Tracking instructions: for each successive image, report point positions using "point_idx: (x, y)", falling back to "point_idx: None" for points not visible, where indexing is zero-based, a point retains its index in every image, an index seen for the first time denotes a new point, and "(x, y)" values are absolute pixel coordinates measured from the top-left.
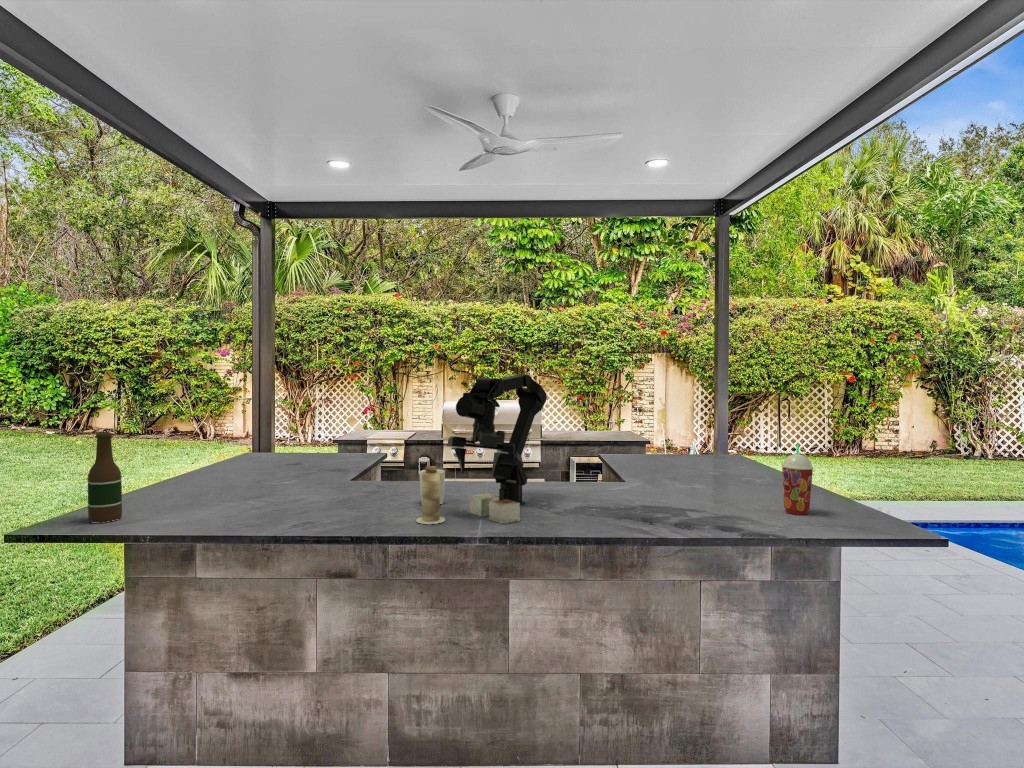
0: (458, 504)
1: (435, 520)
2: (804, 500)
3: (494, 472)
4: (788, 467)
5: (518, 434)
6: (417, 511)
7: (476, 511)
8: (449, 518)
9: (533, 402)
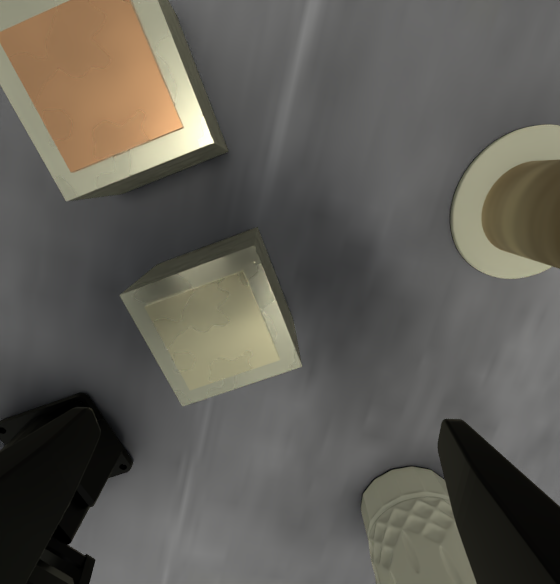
0: (306, 468)
1: (523, 163)
2: None
3: (48, 435)
4: None
5: None
6: (505, 395)
7: (273, 274)
8: (418, 238)
9: None
